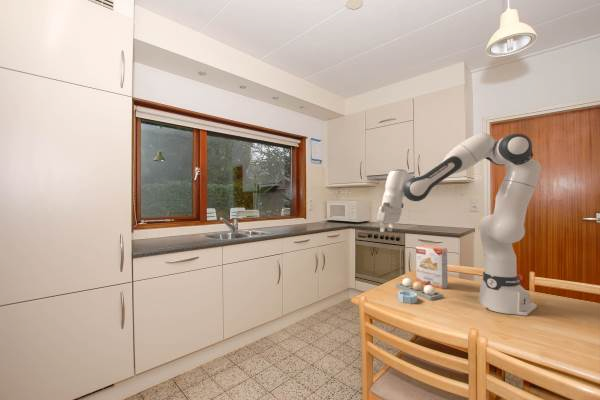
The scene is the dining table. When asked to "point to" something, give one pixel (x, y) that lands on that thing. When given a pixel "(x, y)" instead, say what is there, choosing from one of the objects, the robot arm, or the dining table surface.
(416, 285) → the brown egg
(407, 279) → the cream egg
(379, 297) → the dining table surface
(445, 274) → the cracker box
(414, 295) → the egg cup
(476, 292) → the dining table surface
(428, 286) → the cream egg
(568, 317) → the dining table surface
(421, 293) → the carton
